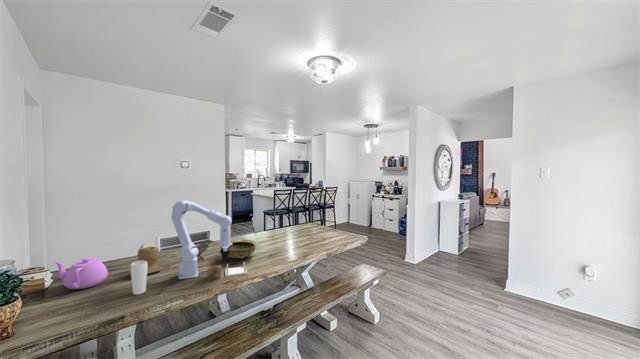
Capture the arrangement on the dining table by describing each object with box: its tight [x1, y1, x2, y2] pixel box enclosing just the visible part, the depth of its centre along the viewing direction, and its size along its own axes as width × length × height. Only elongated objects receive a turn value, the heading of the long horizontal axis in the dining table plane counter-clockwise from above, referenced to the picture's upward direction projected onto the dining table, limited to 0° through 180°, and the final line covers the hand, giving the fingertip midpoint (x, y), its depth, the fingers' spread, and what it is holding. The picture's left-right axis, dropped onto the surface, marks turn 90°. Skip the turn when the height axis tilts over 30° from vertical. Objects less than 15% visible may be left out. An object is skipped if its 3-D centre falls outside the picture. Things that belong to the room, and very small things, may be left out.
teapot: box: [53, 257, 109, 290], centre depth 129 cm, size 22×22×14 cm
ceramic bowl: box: [217, 239, 259, 260], centre depth 173 cm, size 30×24×10 cm
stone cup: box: [137, 246, 163, 275], centre depth 145 cm, size 15×12×15 cm
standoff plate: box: [224, 261, 248, 278], centre depth 149 cm, size 12×10×4 cm
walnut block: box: [206, 264, 222, 281], centre depth 141 cm, size 7×4×6 cm, turn 111°
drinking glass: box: [130, 260, 148, 296], centre depth 122 cm, size 7×7×15 cm
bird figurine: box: [196, 238, 215, 261], centre depth 167 cm, size 13×10×20 cm
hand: (224, 259), depth 146 cm, fingers open, 7 cm apart
